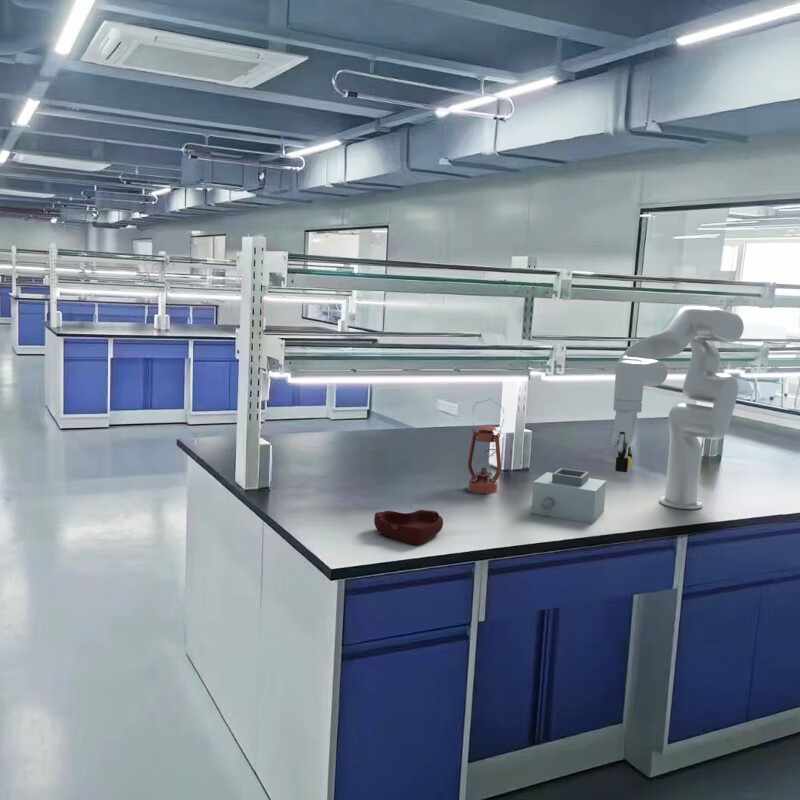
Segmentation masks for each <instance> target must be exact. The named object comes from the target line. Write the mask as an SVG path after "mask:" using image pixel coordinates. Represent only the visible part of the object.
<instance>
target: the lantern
mask: <svg viewBox="0 0 800 800" xmlns="http://www.w3.org/2000/svg"><path fill="white" fill-rule="evenodd" d="M489 400H491V401H492V402H493V403H494V404H496V405H498V406H499V407H501V408H502V411H503V413H505V411H504V408H503V407H502V405H500V403H497V402H495V401H494V400H493V399H492V398H491V397H490V398H488V399H486V400H485V402H487V401H489ZM482 402H484V400H483V401H480V403H482ZM478 403H479V401H477V402H476V403H475V404H474V405H473V409H472V410H473V411H472V412H474V410H475V405H476V404H478ZM504 421H505V419H503V420H502V423H501V427H500V429H499V431H498V432H497V433H496V434H495V432H494V431H496V430H497V428H496V427H494V426H491V425H489V424H484V425H478V426H476V427H475V423H474V422H472V423H473V427H472V428H473V429H472V430H471V433H472V436H471V442H470V447H469V453H468V459H467V469H468V472H469V475H470V476H471V478H470V479H469V480H468V487H467V490H468V491H469V490H470V491H469V492H471V491H473V492H472V493H474V492H477V493H476V494H480V493H487V494H486V495H491V494H490V493H493V494H495V493H498V492H497V491H498V482H497V480H498V479H499V478H500V476H501V473H502V461H501V447H500V437H501V430H502V427H503V423H504ZM475 429H477V430H479V431H476V430H475ZM476 441H477V442H480V443H495V448H489V449H487V450H485V451H482V450H481V449H480V448H479V447H475V445H476ZM475 449H477V450H475ZM491 450H492V451H494V452H493V453H491V454H490V455H489V456H488V457H487V456H486V454H485V453H487V452H488V451H491ZM474 452H476V453H478V454H480V455H481V456H480V458H479V460H478V462H477V465H476V469H475V471H474V469H473V466H472V465H473V464H472V462H473V457H474ZM494 454H495V456H496V472H495V473H494V476H493V473H492V470H491V466H490V463H489V458H490V457H491V456H493V455H494ZM482 457H484V458H485V459H484V460H483V462H482V463H481V465H480V467H479V469H478V465H479V463H480V461H481V458H482ZM485 462H487V465H488V469H489V472H488V471H487V467H482V466H483V464H484V463H485ZM477 470H478V471H477ZM488 493H489V494H488Z"/></svg>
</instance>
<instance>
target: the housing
mask: <svg viewBox="0 0 800 800" xmlns="http://www.w3.org/2000/svg"><path fill="white" fill-rule="evenodd" d="M589 475H590V472H589V471H586V470H585V471H584V470H577V469H570V468H563V467H560V468H558V469H556V471H554V472H548V471H547V472H545V473H544V474H541V476H539V477H538V478H536V479H535V480H534V481H533V482H532V483H533V486H532V498H531V499H532V500H531V512H530V513H531V514H534V513H535V515H540V514H541V515H542V516H546V515H547V517H553V518H558V519H565V520H570V521H575V522H576V521H577V522H583V523H588V522H589V524H595V522H596V521H597V520H598V519H599V518H600V516H602V514H603V513H604V512H605V501H606V490H607V489H606V488H607V480H604V479H598V478H597V479H596V478H590V476H589ZM541 515H540V516H541ZM598 517H599V518H598ZM597 518H598V519H597Z"/></svg>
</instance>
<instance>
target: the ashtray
mask: <svg viewBox="0 0 800 800" xmlns="http://www.w3.org/2000/svg"><path fill="white" fill-rule="evenodd" d="M373 520H374V527H375V528H376V530H377V531H378V532H379V533H380V534H381V535H384V536H388V537H391V538H393V539H396V540H398V541H401V542H403V543H406V544H410V545H412V544H413V546H420V545H423V544H425V543H426V542H427V541H429V540H430V539H432V537H434V536H435V535H437V534H439V532H441V531H442V529H443V526H444V519H443V517H442V516H441V515H440V514H439V513H438V512H437V511H436V510H426V509H418V510H416V511H412V512H408V513H407V512H404V513H403V512H397V511H394V510H393V511H392V510H385V511H381V512H380V511H378V512H375V513H374V519H373Z"/></svg>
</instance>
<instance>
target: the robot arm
mask: <svg viewBox="0 0 800 800" xmlns="http://www.w3.org/2000/svg"><path fill="white" fill-rule="evenodd" d="M744 328H745V327H744V321H743V320H742V317H741V316H740V315H739V314H737V313H733V312H731V311H727V310H725V309H722V308H718V307H712V306H711V307H710V306H695V305H693V306H692V305H689V306H684V307H681V308H680V309H678V310H677V311H676V312H675V314H674V315H673V316H672V317H671V318H670V319H669V320H668V321H667V323H666V324H665V325H664V326H663V327H662V329H660V331H659V332H657V333H654V334H652V335H650V336H647V337H646V338H643V339H640V340H639V341H636V342H635V343H633V344H632V345H630V346H629V347H628V348H627V349H626V350H625V351H624V352H623V353H622V355H620V357H619V359H618V360H617V362H616V363H615V366H614V367H615V368H614V373H615V375H614V376H615V379H614V381H615V382H614V391H613V392H614V394H613V409H612V410H613V411H615V414H614V421H613V431H612V432H613V433H612V440H611V446H612V447H616V446H617V448H616V457H615V459H616V466H615V471H616V472H619V473H627V472H628V471H627V469H628V458H627V455H628V456H629V457H630V458H631V459H632V457H633V454H632V453H633V445H634V443H635V442H636V436H637V427H638V425H637V423H638V413H641V412H642V410H643V409H642V408H643V392H644V386H645V387H658V386H660V385H662V384H663V383H664V382H665V381H666V380H667V378H668V368H667V365H666V364H665V363H664V362H663V361H660V360H658V359H666V358H670V357H674V356H677V355H679V354H681V353H682V352H683V351H684V350H685V349H686V347H688V345H690V349H691V358H690V360H689V365H688V368H687V372H686V376H685V378H684V382H683V386H682V394H683V396H684V398H686V399H688V400H691V401H694V402H699V403H704V404H705V403H706V404H712V406H705V405H701V404H700V405H699V404H695V403H694V404H693V403H685V402H684V403H682V402H681V403H678V404H675V405H673V406H672V408H671V409H670V410H669V413H668V428H669V430H668V431H669V447H668V448H669V449H668V459H667V469H666V470H667V471H666V481H665V492H664V495H661V496H660V497H659V499H658V500H659V503H660V504H662V505H664V506H666V507H670V508H674V509H680V510H699V509H701V508H702V507H703V502H702V501H701V500H700V499H698V497H699V494H698V493H699V486H700V485H699V483H700V474H701V464H702V454H703V449H702V446H701V443H700V441H699V439H698V437H699V438H701V439H702V438H703V439H708V440H715V441H716V440H722V439H723V438H724V437H725V435H727V432H728V430H729V427H730V424H731V420H732V416H733V414H734V410H735V406H736V403H737V400H738V394H739V384H738V380H737V379H736V378H735V376H733V375H732V374H729V373H723V372H719V368H720V364H721V361H722V358H721V355H720V352H719V349H718V348H717V346H716V344H715V343H714V342H718V343H719V342H720V343H735V342H737V341H739V340H740V338H742V335H743V333H744ZM632 460H633V459H632Z"/></svg>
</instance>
